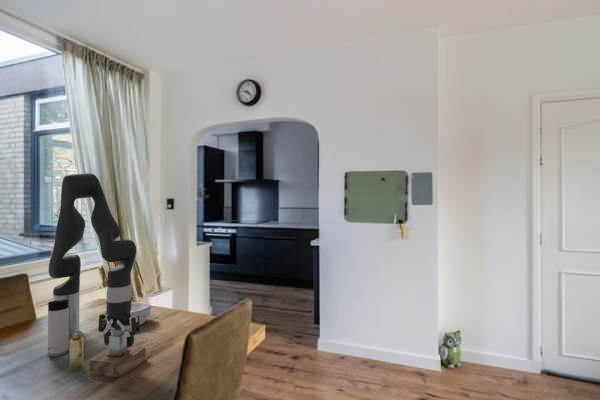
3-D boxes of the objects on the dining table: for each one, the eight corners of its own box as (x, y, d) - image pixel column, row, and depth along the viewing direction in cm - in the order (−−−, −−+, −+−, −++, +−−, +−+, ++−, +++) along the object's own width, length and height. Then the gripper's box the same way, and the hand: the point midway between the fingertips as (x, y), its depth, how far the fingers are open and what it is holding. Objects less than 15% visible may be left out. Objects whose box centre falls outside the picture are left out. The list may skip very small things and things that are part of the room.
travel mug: (45, 358, 120) (46, 303, 120) (49, 351, 125) (49, 298, 125) (67, 355, 123) (67, 300, 122) (69, 347, 128) (69, 296, 128)
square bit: (109, 365, 113) (109, 330, 113) (117, 360, 117) (117, 325, 117) (119, 366, 112) (119, 331, 112) (127, 361, 116) (127, 326, 116)
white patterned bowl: (118, 319, 159) (118, 302, 159) (153, 317, 162) (153, 300, 162) (108, 331, 144) (108, 313, 144) (146, 328, 147) (146, 311, 147)
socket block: (89, 373, 110) (89, 360, 110) (116, 356, 122) (116, 344, 122) (121, 377, 107) (121, 363, 107) (145, 359, 119) (145, 347, 119)
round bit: (66, 370, 111) (66, 335, 111) (76, 364, 115) (76, 330, 115) (76, 372, 111) (76, 336, 111) (86, 366, 115) (86, 331, 115)
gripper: (92, 300, 112) (92, 348, 112) (129, 303, 109) (129, 352, 110) (109, 293, 119) (109, 338, 120) (144, 296, 117) (144, 342, 117)
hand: (118, 345), depth 115 cm, fingers open, 8 cm apart
